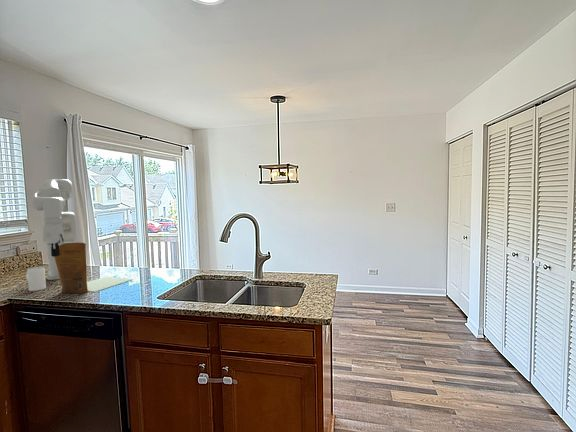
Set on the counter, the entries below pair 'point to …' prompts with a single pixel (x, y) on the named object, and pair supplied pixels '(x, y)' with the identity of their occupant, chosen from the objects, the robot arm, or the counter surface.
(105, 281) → the silicone mat
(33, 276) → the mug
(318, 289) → the counter surface
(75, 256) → the pancake mix bag
